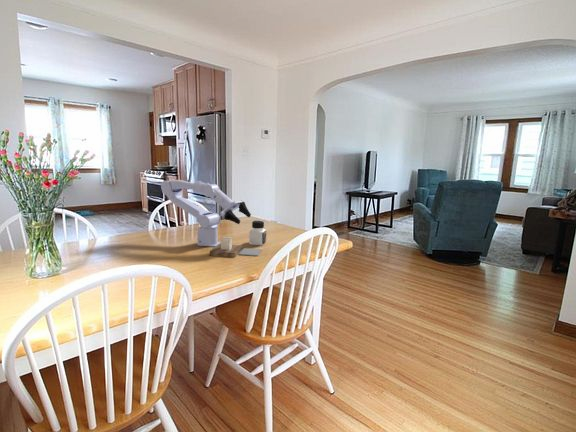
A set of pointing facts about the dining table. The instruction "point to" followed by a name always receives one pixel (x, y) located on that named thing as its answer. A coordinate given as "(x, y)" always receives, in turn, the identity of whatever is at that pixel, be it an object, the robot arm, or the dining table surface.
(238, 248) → the pocket block
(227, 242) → the peg
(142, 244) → the dining table surface
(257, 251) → the mat
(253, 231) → the white bottle
